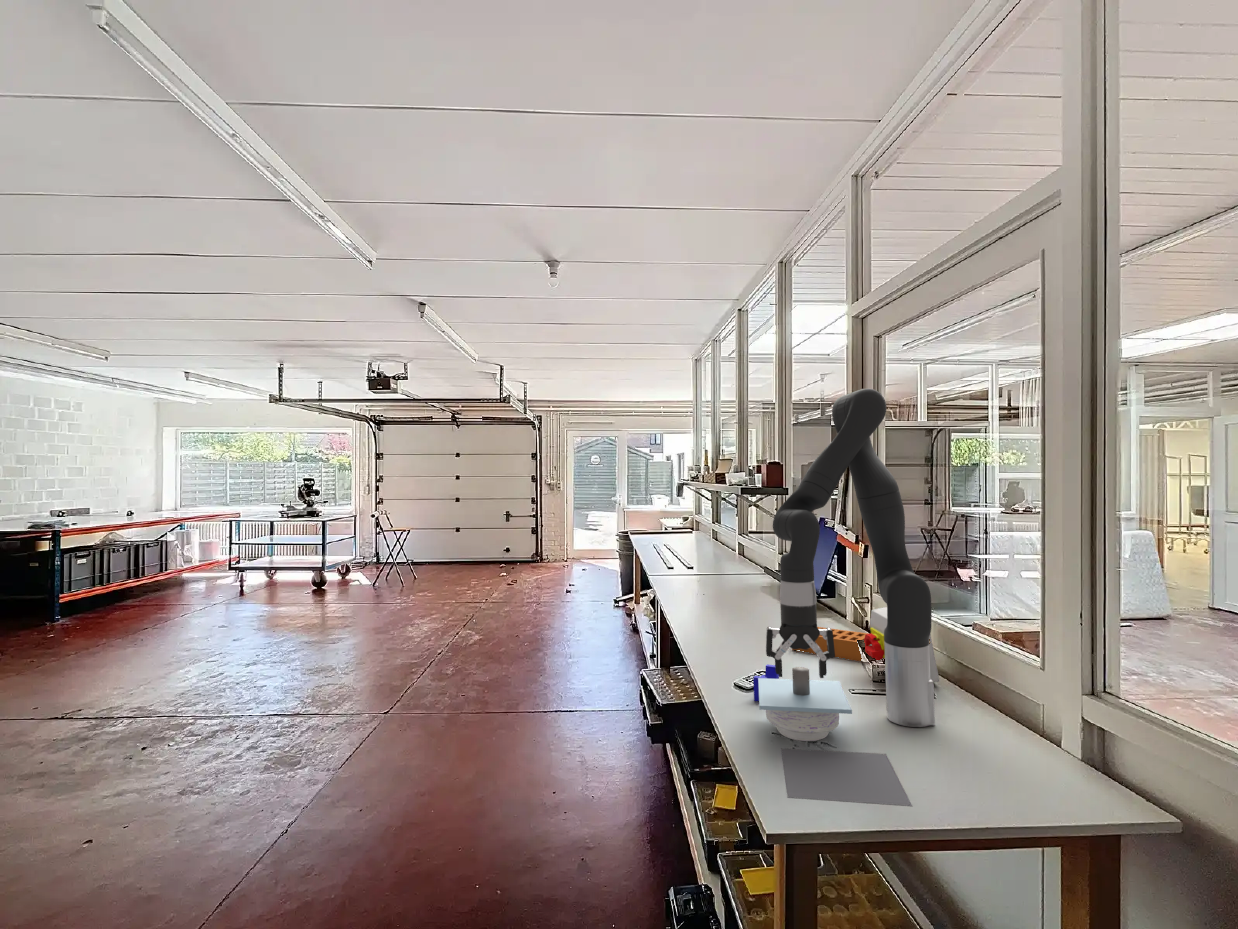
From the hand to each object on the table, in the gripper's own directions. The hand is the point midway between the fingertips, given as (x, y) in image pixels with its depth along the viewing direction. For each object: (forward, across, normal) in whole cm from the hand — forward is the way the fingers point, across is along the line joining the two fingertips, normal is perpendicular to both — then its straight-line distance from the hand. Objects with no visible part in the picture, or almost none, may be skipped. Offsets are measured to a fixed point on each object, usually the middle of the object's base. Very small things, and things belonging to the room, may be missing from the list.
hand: (800, 676), depth 136 cm
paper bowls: (+12, 0, 0) cm, 12 cm away
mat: (+12, -5, +20) cm, 23 cm away
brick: (+13, -16, -66) cm, 69 cm away
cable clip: (+12, +7, -24) cm, 28 cm away
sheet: (+4, 0, 0) cm, 4 cm away
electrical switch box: (+12, -28, -40) cm, 51 cm away
